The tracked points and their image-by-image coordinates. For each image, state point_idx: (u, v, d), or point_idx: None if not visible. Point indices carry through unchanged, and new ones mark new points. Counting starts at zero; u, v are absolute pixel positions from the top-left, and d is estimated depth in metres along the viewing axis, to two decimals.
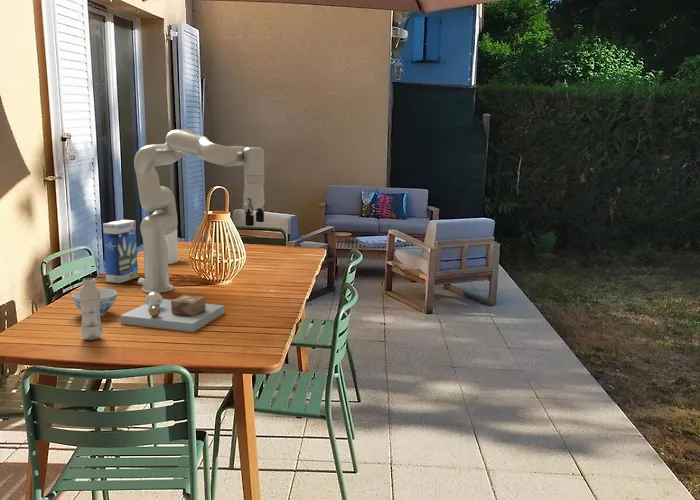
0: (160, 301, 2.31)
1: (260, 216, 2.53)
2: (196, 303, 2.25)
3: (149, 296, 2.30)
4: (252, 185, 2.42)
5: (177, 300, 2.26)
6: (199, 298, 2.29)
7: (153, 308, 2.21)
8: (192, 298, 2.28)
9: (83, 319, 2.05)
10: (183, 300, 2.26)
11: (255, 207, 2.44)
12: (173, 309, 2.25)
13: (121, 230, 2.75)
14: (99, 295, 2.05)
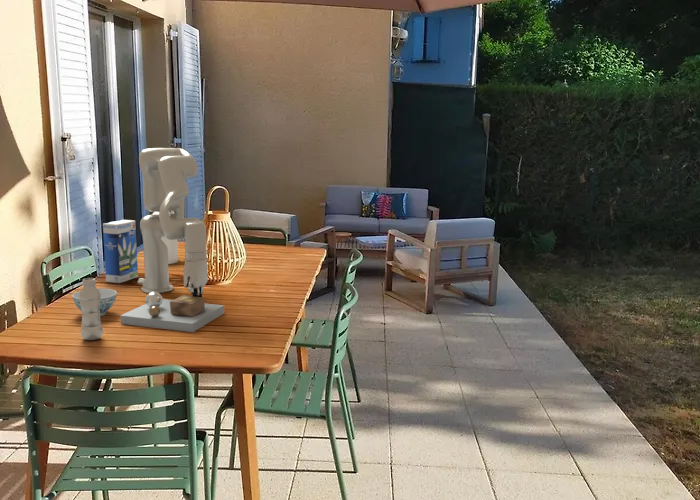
0: (160, 301, 2.31)
1: None
2: (195, 304, 2.24)
3: (149, 296, 2.30)
4: (192, 263, 2.27)
5: (176, 301, 2.25)
6: (198, 299, 2.28)
7: (153, 308, 2.21)
8: (191, 299, 2.27)
9: (83, 319, 2.05)
10: (182, 301, 2.25)
11: (196, 286, 2.29)
12: (172, 310, 2.25)
13: (121, 230, 2.75)
14: (99, 295, 2.05)
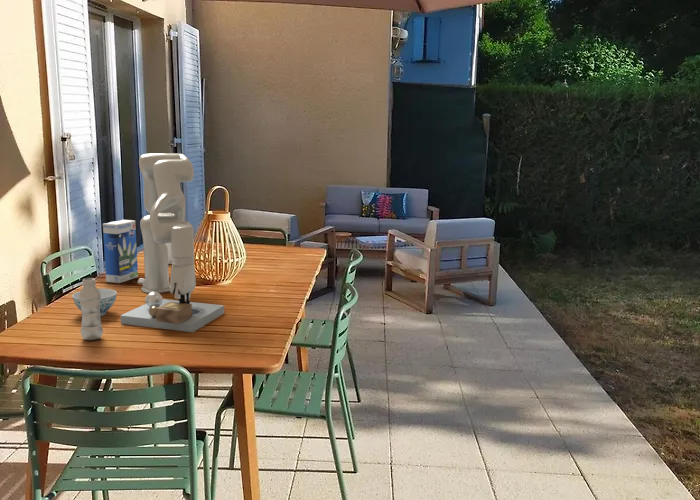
0: (160, 301, 2.31)
1: None
2: (182, 311, 2.16)
3: (149, 296, 2.30)
4: (179, 268, 2.18)
5: (162, 307, 2.17)
6: (185, 305, 2.20)
7: (153, 308, 2.21)
8: (178, 305, 2.19)
9: (83, 319, 2.05)
10: (168, 307, 2.16)
11: (183, 292, 2.20)
12: (158, 317, 2.16)
13: (121, 230, 2.75)
14: (99, 295, 2.05)
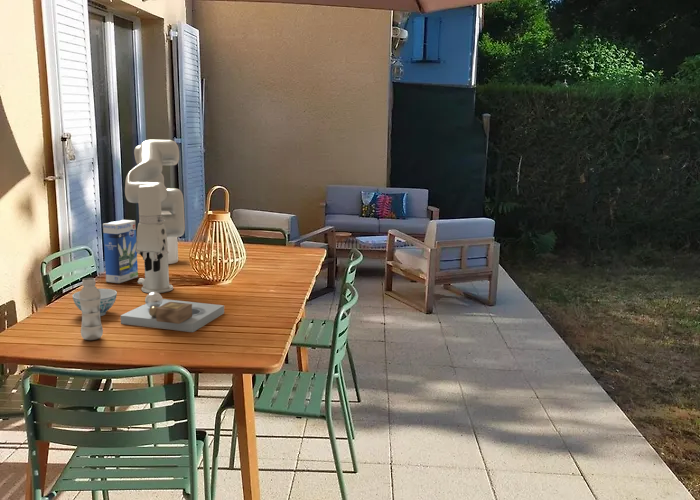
0: (160, 301, 2.31)
1: None
2: (182, 311, 2.16)
3: (149, 296, 2.30)
4: None
5: (162, 307, 2.17)
6: (185, 305, 2.20)
7: (153, 308, 2.21)
8: (178, 305, 2.19)
9: (83, 319, 2.05)
10: (168, 307, 2.17)
11: (139, 248, 2.27)
12: (158, 317, 2.16)
13: (121, 230, 2.75)
14: (99, 295, 2.05)
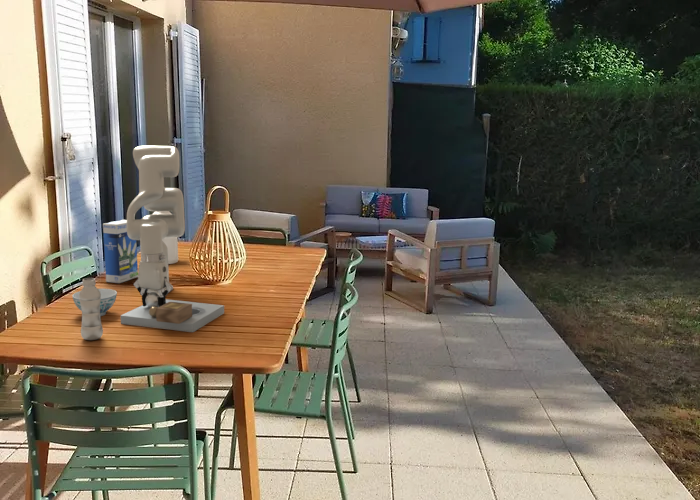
0: None
1: None
2: (182, 311, 2.16)
3: (149, 296, 2.29)
4: None
5: (162, 307, 2.17)
6: (185, 305, 2.20)
7: (153, 308, 2.21)
8: (178, 305, 2.19)
9: (83, 319, 2.05)
10: (168, 307, 2.17)
11: (140, 285, 2.30)
12: (158, 317, 2.16)
13: (121, 230, 2.75)
14: (99, 295, 2.05)
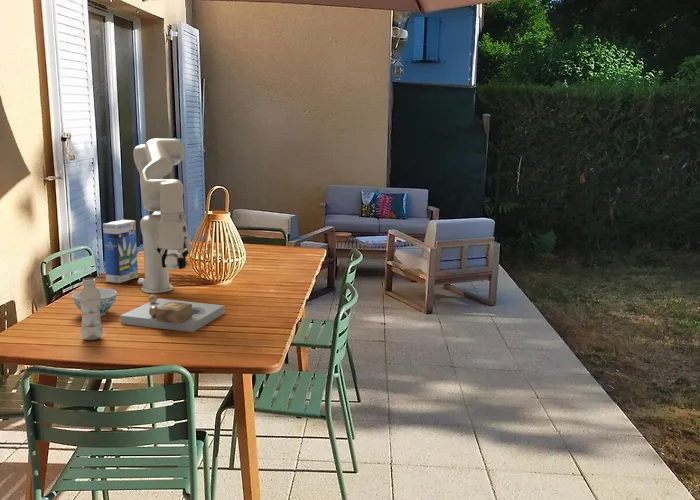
0: None
1: None
2: (182, 311, 2.16)
3: (169, 257, 2.24)
4: None
5: (162, 307, 2.17)
6: (185, 305, 2.20)
7: (153, 308, 2.21)
8: (178, 305, 2.19)
9: (83, 319, 2.05)
10: (168, 307, 2.17)
11: (160, 246, 2.25)
12: (158, 317, 2.16)
13: (121, 230, 2.75)
14: (99, 295, 2.05)
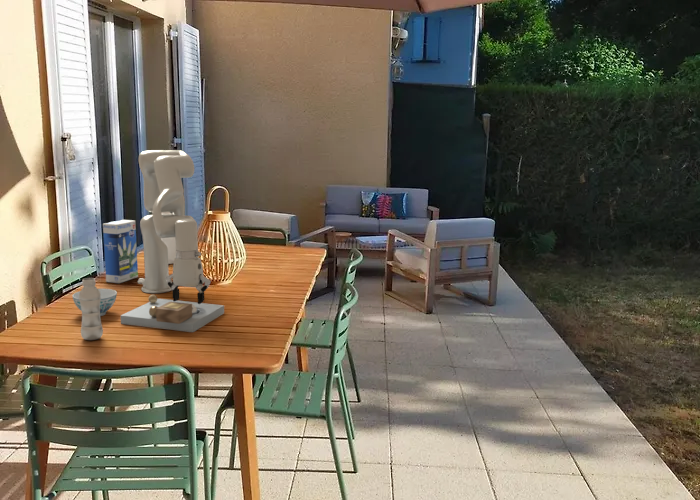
0: (195, 313, 2.28)
1: None
2: (182, 311, 2.16)
3: None
4: None
5: (162, 307, 2.17)
6: (185, 305, 2.20)
7: (153, 308, 2.21)
8: (178, 305, 2.19)
9: (83, 319, 2.05)
10: (168, 307, 2.17)
11: (175, 283, 2.26)
12: (158, 317, 2.16)
13: (121, 230, 2.75)
14: (99, 295, 2.05)
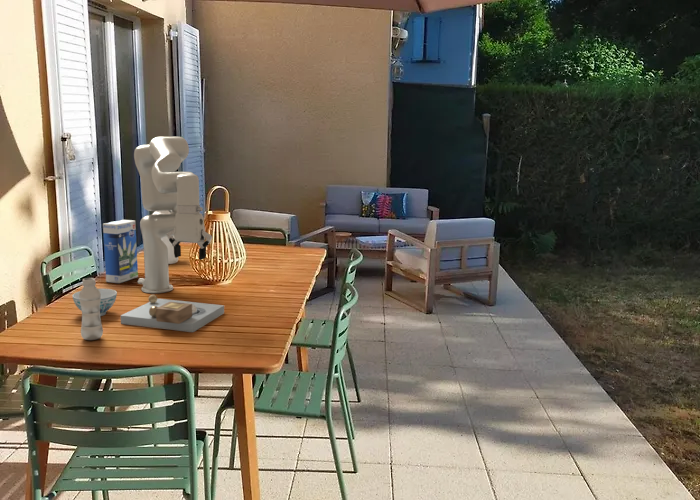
0: (195, 313, 2.28)
1: None
2: (182, 311, 2.16)
3: None
4: None
5: (162, 307, 2.17)
6: (185, 305, 2.20)
7: (153, 308, 2.21)
8: (178, 305, 2.19)
9: (83, 319, 2.05)
10: (168, 307, 2.17)
11: (176, 238, 2.25)
12: (158, 317, 2.16)
13: (121, 230, 2.75)
14: (99, 295, 2.05)
